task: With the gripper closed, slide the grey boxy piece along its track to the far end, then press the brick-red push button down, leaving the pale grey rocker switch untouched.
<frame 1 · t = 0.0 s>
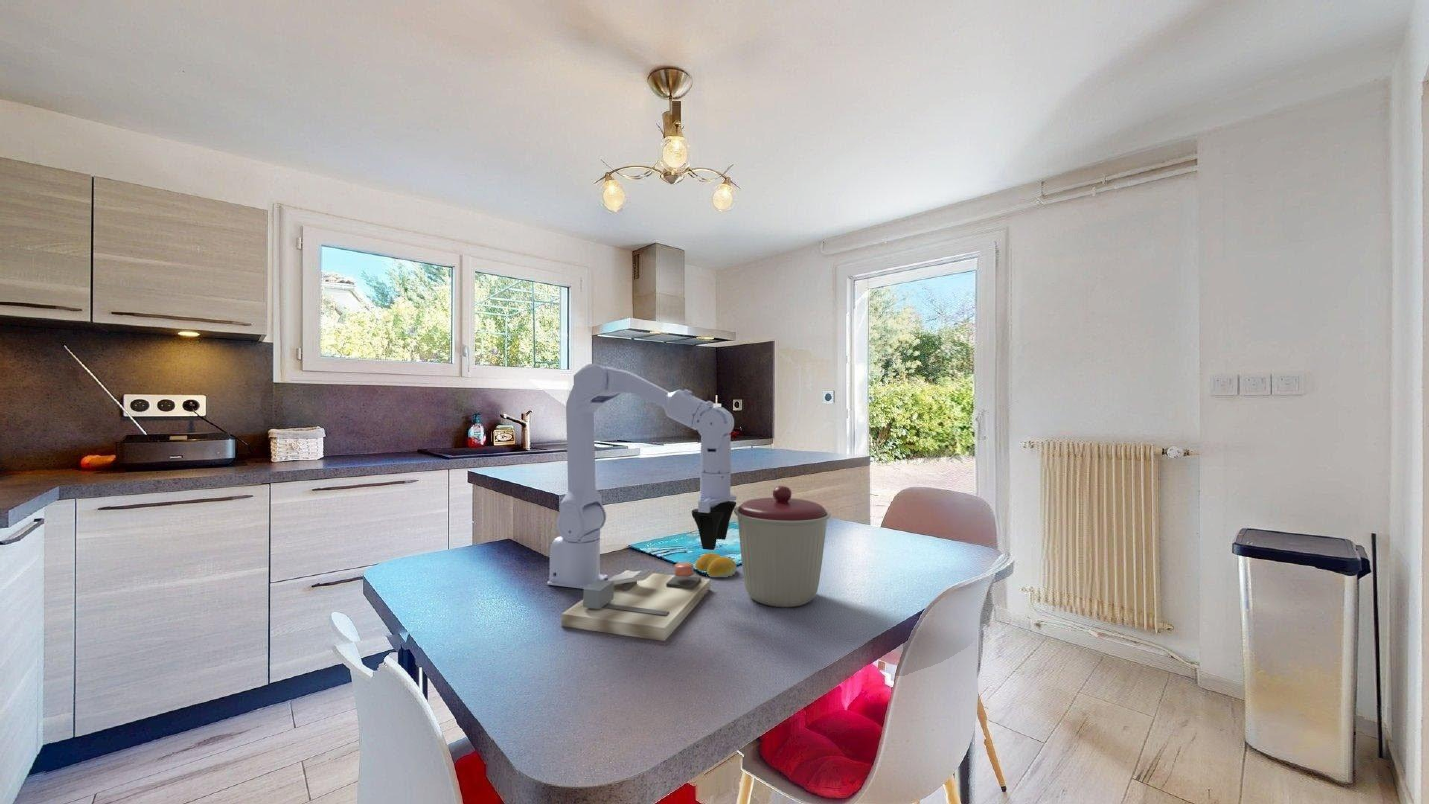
hand: (714, 543, 101), 10 cm above the table, tool pointing down, fingers open, 7 cm apart
canister: (780, 598, 102), on the table
red push button: (684, 569, 103), point 5 cm above the table, slide at 0.0 cm
grey rocker: (629, 577, 100), point 4 cm above the table, hinge at -14.0°
switch panel: (642, 606, 96), on the table
bread roll: (715, 573, 117), on the table
grey boxy piece: (598, 593, 91), point 4 cm above the table, slide at 0.0 cm
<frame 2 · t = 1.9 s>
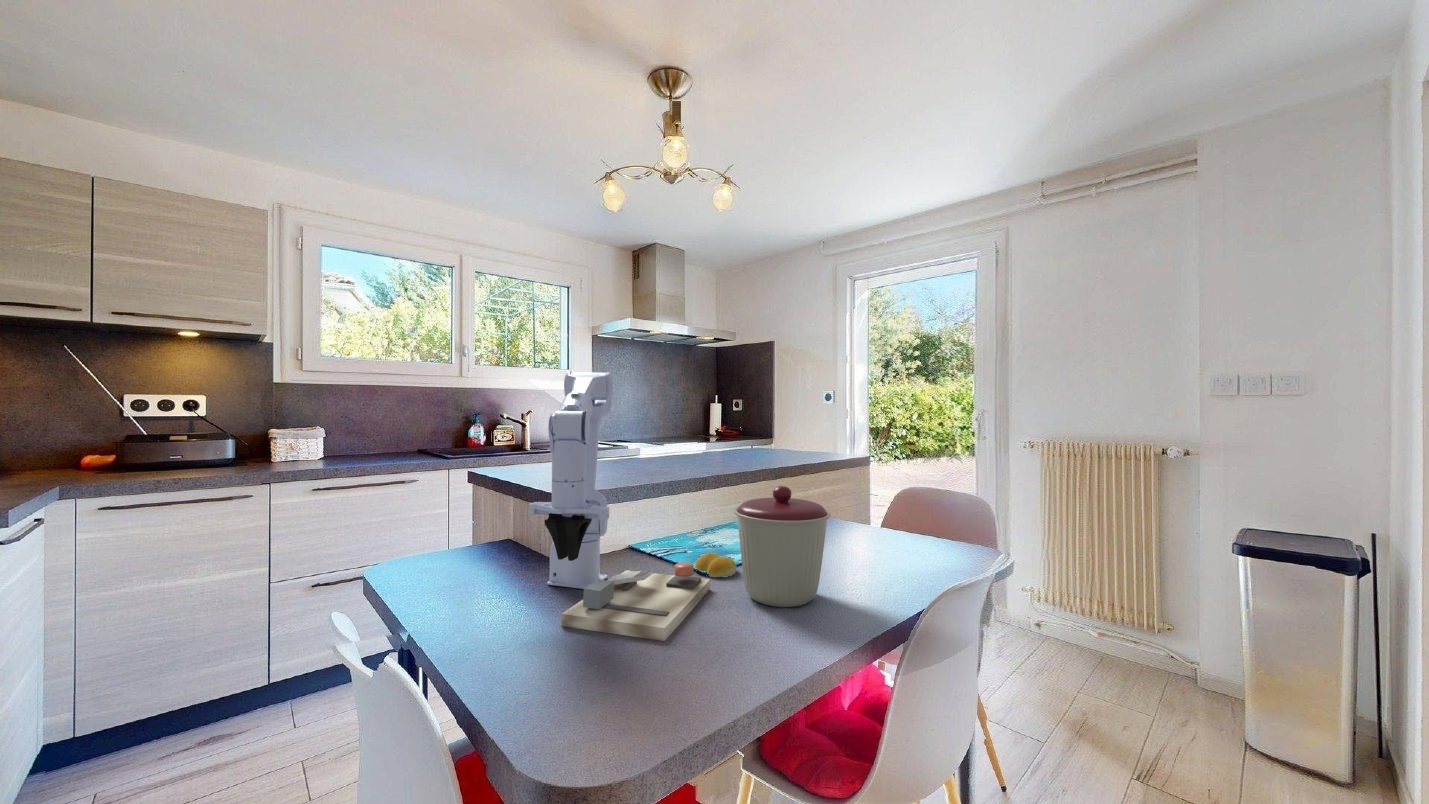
hand: (568, 558, 93), 9 cm above the table, tool pointing down, fingers closed
nothing on the table moved.
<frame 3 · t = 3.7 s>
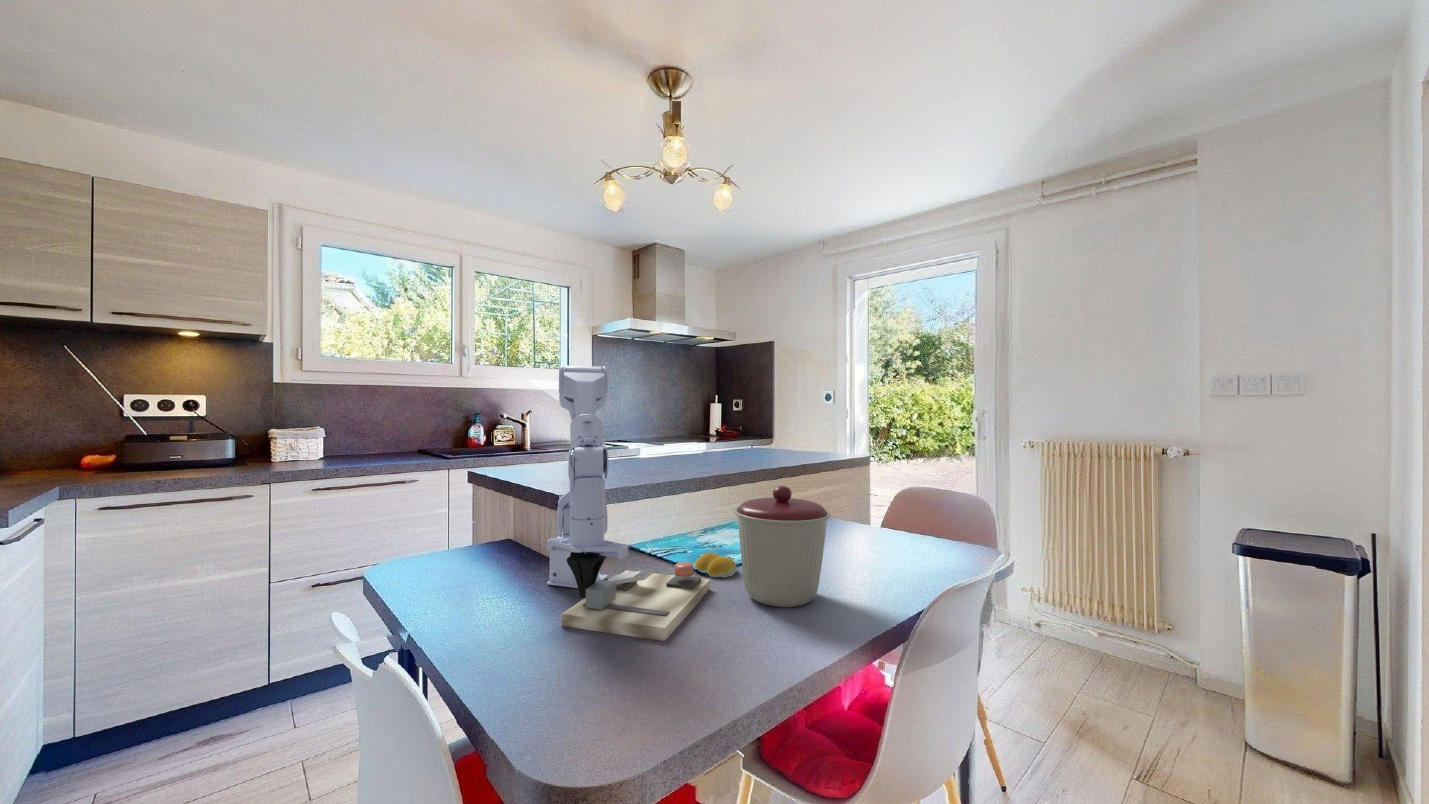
hand: (586, 596, 92), 3 cm above the table, tool pointing down, fingers closed
grey boxy piece: (601, 594, 91), point 4 cm above the table, slide at 0.4 cm, touching gripper
everything else where it was.
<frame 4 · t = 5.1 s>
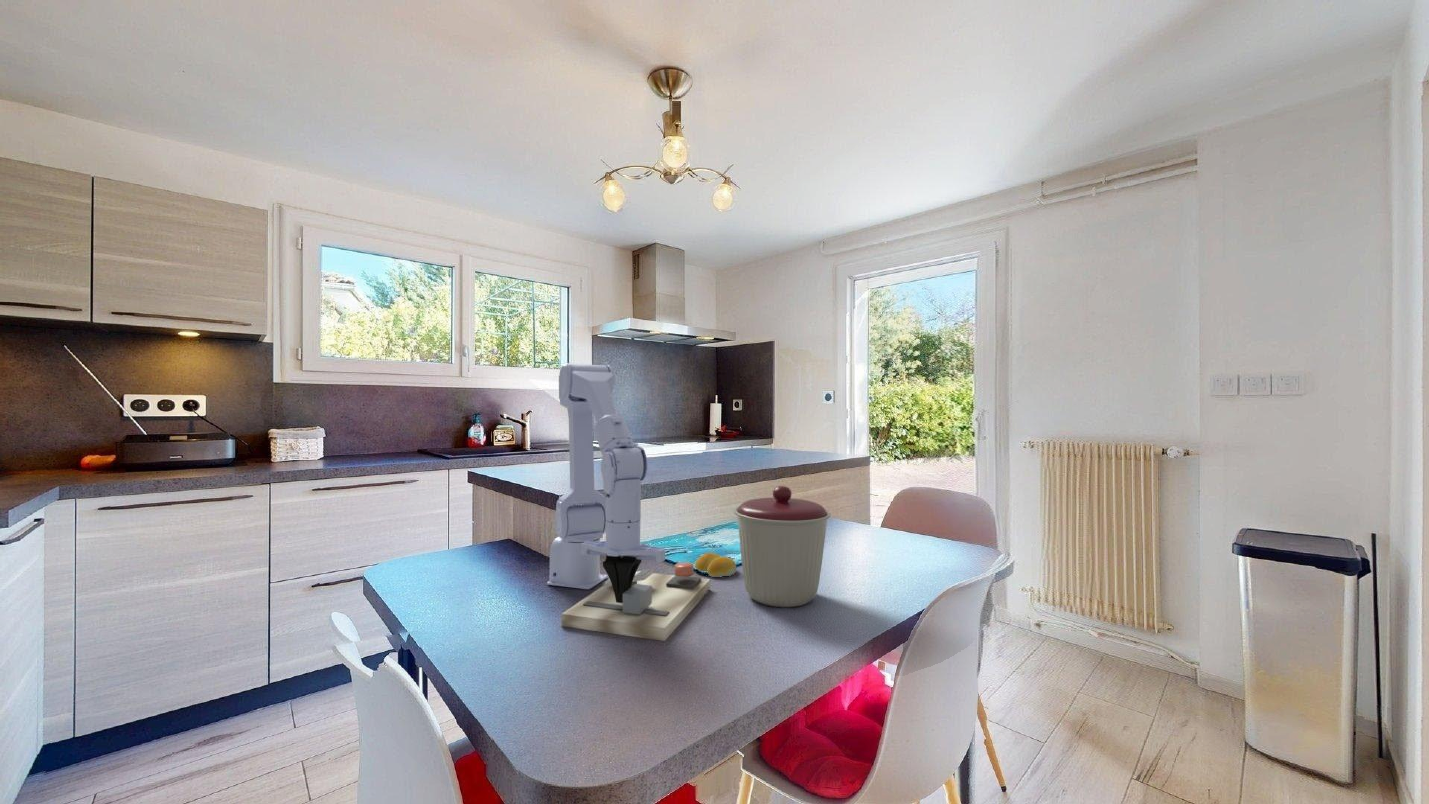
hand: (622, 600, 90), 3 cm above the table, tool pointing down, fingers closed
grey boxy piece: (637, 598, 89), point 4 cm above the table, slide at 7.1 cm, touching gripper
everything else where it was.
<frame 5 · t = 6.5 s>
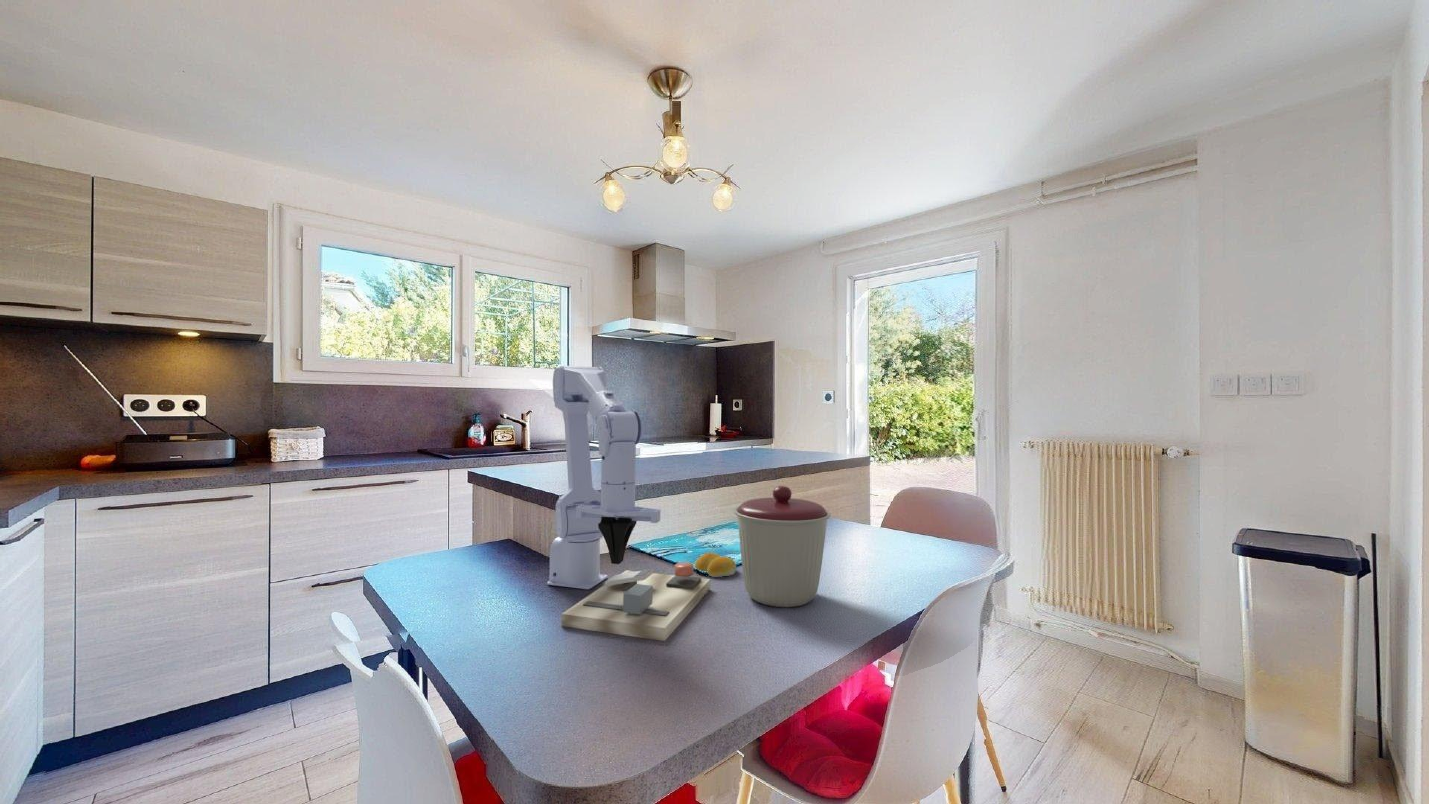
hand: (617, 562, 91), 9 cm above the table, tool pointing down, fingers closed
grey boxy piece: (638, 598, 89), point 4 cm above the table, slide at 7.3 cm
everything else where it was.
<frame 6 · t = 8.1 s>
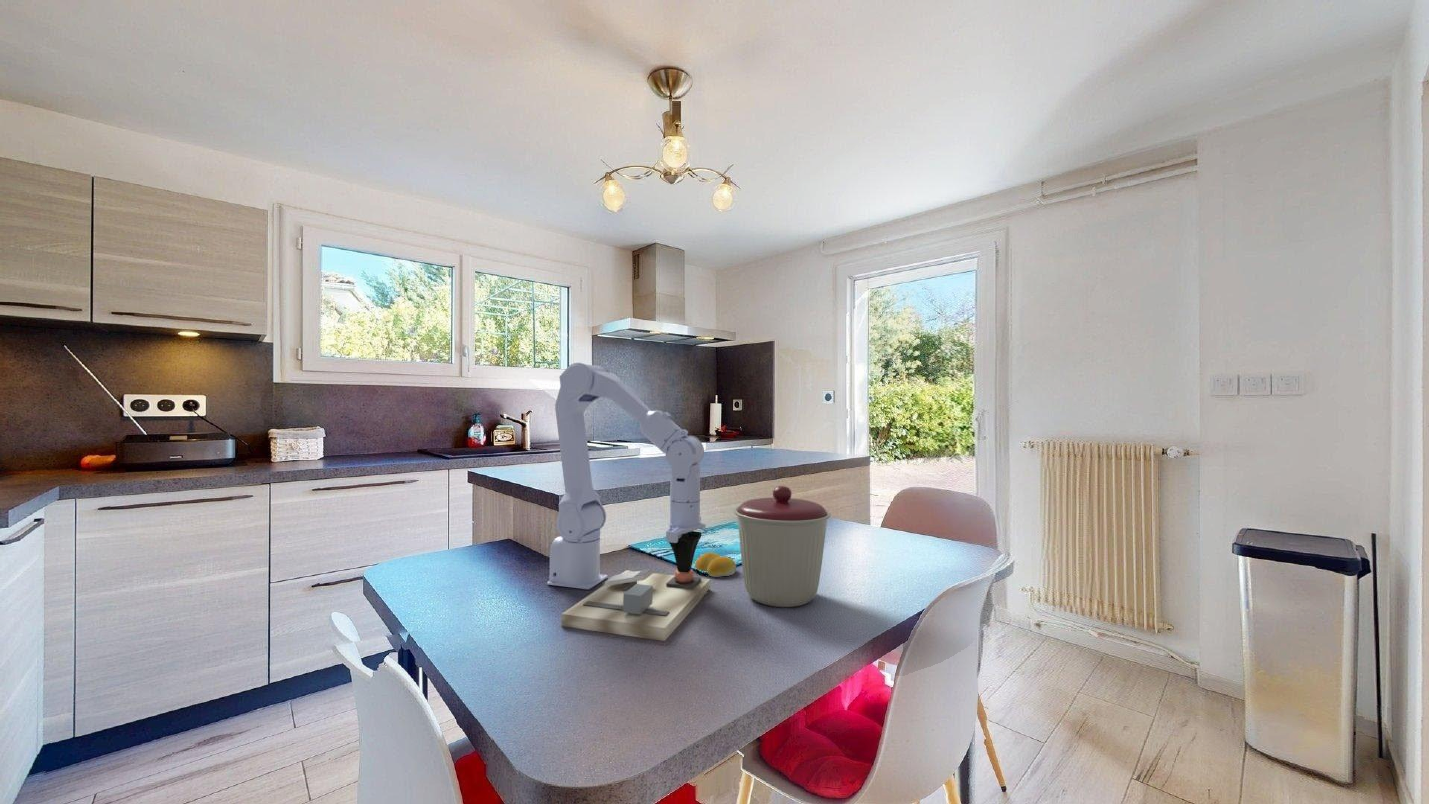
hand: (684, 571, 103), 4 cm above the table, tool pointing down, fingers closed, pressing on red push button
red push button: (684, 575, 103), point 4 cm above the table, slide at 1.1 cm, touching gripper
everything else where it was.
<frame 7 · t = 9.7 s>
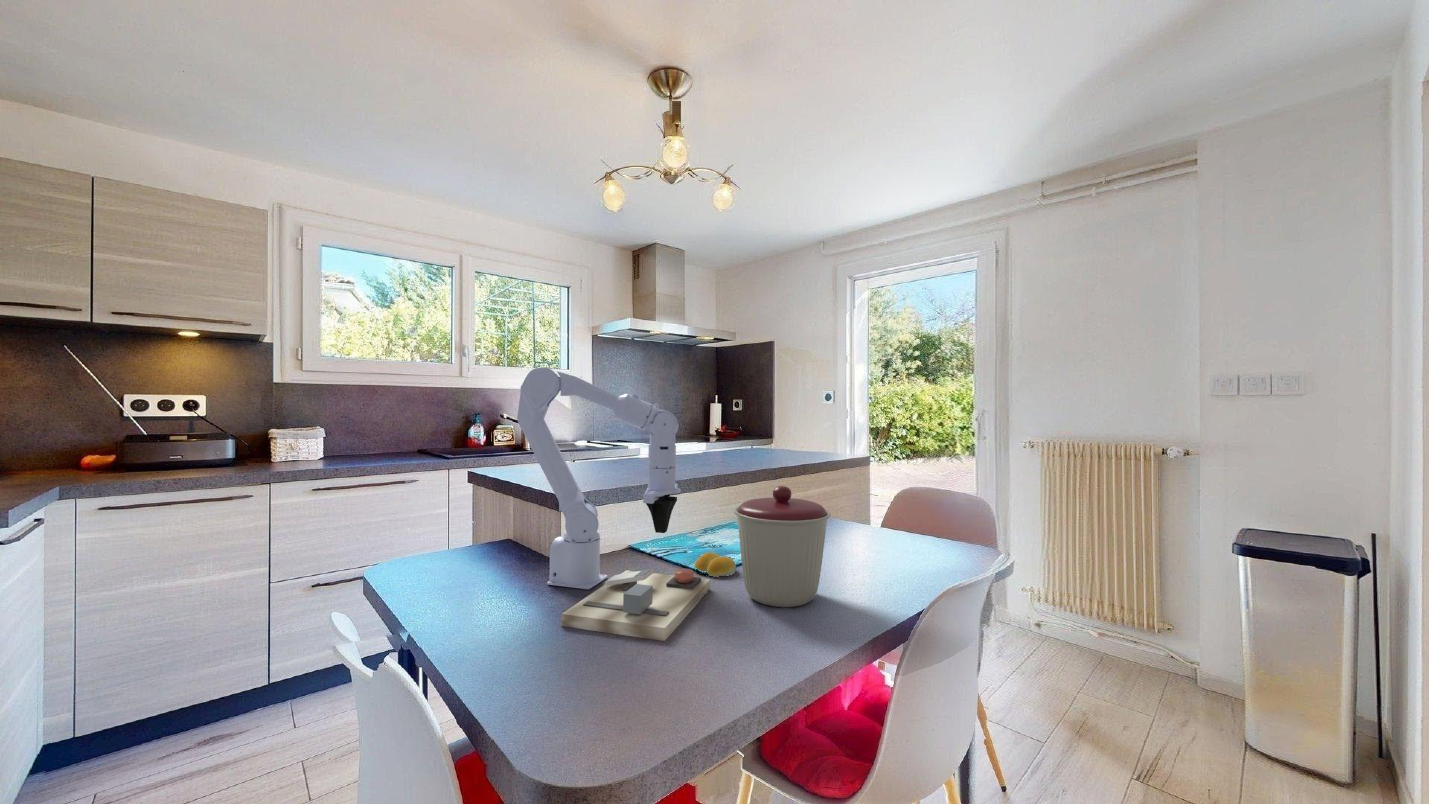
hand: (661, 532, 113), 9 cm above the table, tool pointing down, fingers closed
red push button: (684, 575, 103), point 4 cm above the table, slide at 1.2 cm
everything else where it was.
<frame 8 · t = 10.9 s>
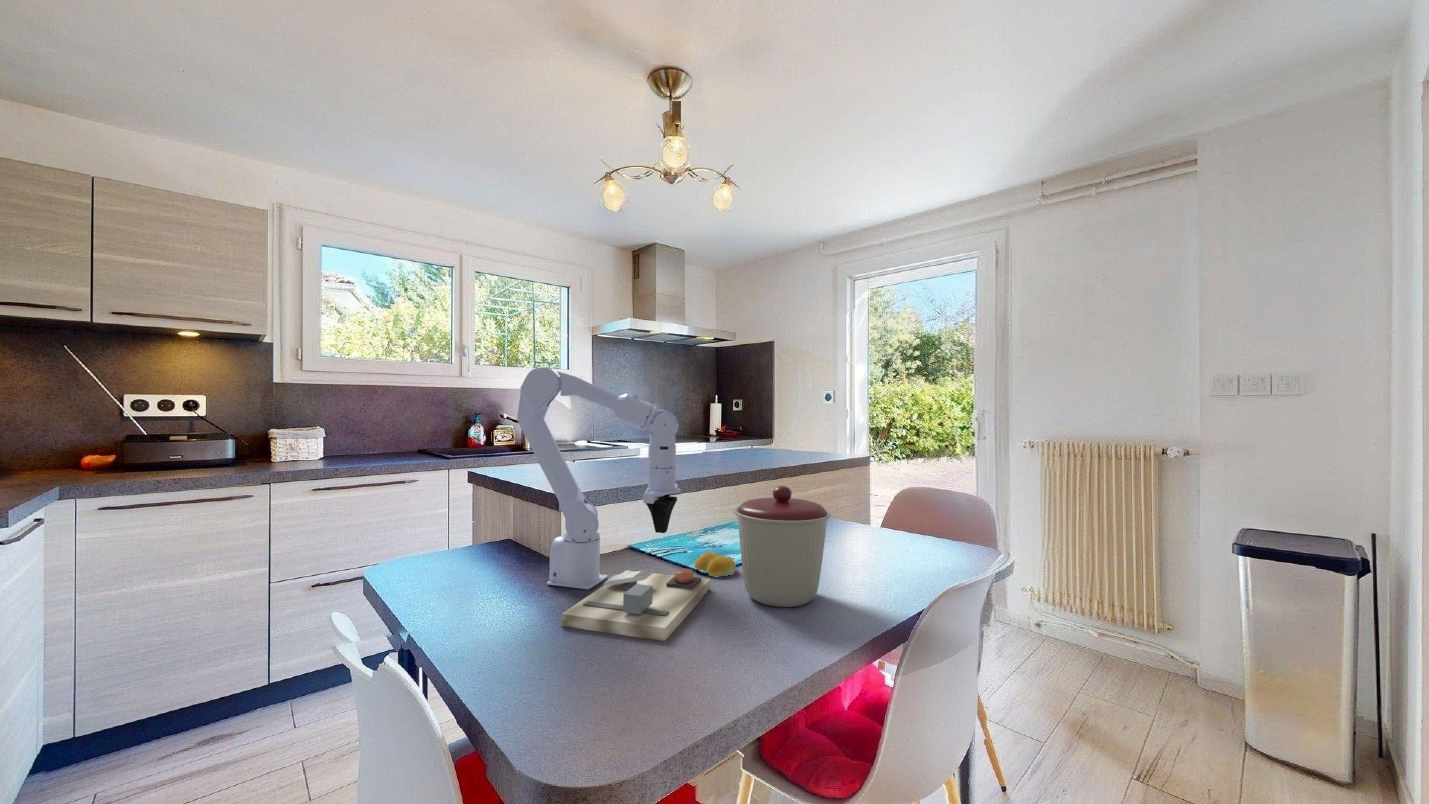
hand: (661, 532, 113), 9 cm above the table, tool pointing down, fingers closed
nothing on the table moved.
at the end: grey boxy piece slide at 7.3 cm; red push button slide at 1.2 cm; grey rocker at -14° (first picture: -14°) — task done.
